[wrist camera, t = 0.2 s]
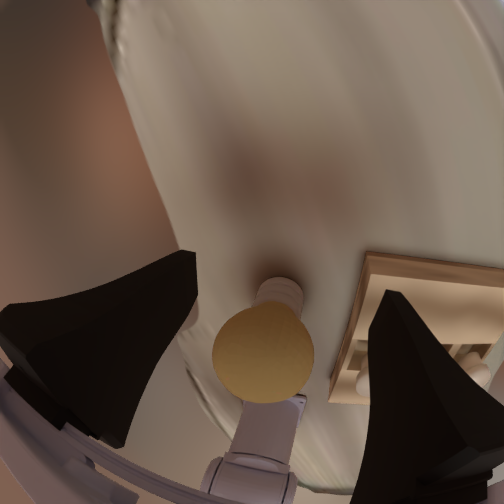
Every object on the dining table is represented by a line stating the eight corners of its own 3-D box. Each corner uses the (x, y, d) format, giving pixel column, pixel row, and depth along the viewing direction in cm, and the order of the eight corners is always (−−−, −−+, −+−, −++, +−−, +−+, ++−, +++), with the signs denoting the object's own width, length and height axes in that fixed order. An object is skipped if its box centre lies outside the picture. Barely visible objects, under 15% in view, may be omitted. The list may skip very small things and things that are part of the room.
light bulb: (232, 268, 22) (178, 361, 14) (307, 249, 20) (286, 356, 11) (261, 324, 25) (228, 417, 16) (329, 313, 22) (318, 418, 14)
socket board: (445, 382, 23) (449, 402, 21) (330, 379, 27) (327, 402, 24) (510, 270, 15) (525, 290, 13) (366, 251, 19) (371, 273, 16)
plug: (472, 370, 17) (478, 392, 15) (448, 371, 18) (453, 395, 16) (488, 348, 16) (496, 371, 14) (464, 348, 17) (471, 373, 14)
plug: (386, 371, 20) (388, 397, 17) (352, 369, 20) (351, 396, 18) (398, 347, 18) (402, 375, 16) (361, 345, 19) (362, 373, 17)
